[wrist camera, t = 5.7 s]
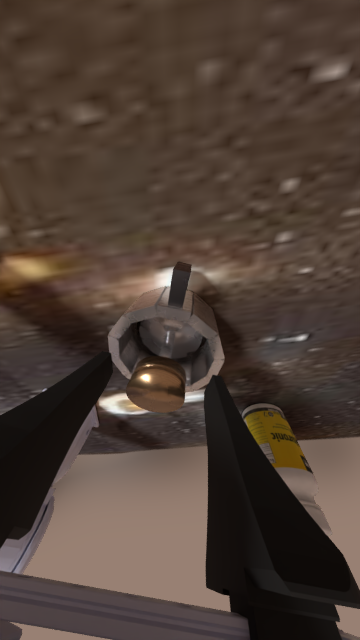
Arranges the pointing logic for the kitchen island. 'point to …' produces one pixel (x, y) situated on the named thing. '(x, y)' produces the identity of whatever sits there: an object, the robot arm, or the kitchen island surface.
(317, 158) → the kitchen island surface
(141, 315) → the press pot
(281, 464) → the supplement bottle
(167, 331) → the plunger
